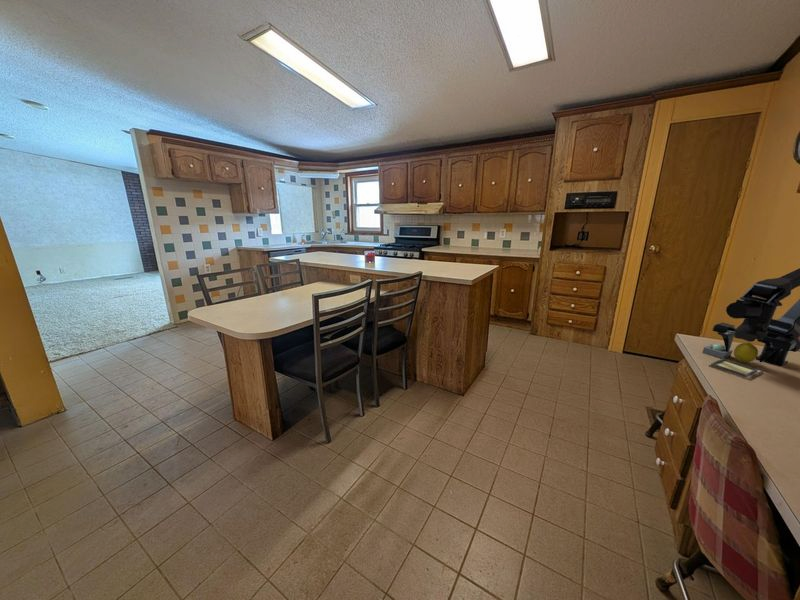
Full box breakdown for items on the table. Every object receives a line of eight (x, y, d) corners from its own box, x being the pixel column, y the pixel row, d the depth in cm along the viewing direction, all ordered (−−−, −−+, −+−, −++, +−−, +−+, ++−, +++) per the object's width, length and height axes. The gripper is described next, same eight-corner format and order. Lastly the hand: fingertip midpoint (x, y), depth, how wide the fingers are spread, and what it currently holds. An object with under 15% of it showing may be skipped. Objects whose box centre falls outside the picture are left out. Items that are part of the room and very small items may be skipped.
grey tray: (722, 360, 109) (723, 356, 109) (762, 372, 100) (764, 369, 100) (708, 366, 105) (709, 362, 104) (748, 380, 96) (750, 376, 95)
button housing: (709, 349, 117) (711, 344, 116) (730, 356, 112) (732, 350, 111) (702, 352, 115) (704, 347, 114) (723, 359, 109) (725, 353, 109)
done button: (713, 350, 115) (715, 343, 114) (723, 353, 112) (726, 346, 111) (709, 351, 114) (712, 344, 113) (720, 355, 111) (722, 347, 110)
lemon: (758, 366, 104) (766, 346, 102) (739, 365, 105) (747, 345, 103) (744, 359, 109) (751, 340, 107) (726, 358, 110) (733, 339, 108)
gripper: (712, 312, 107) (699, 350, 112) (792, 330, 91) (773, 373, 95) (726, 308, 111) (713, 344, 116) (805, 324, 95) (786, 366, 100)
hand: (743, 356), depth 107 cm, fingers open, 8 cm apart
